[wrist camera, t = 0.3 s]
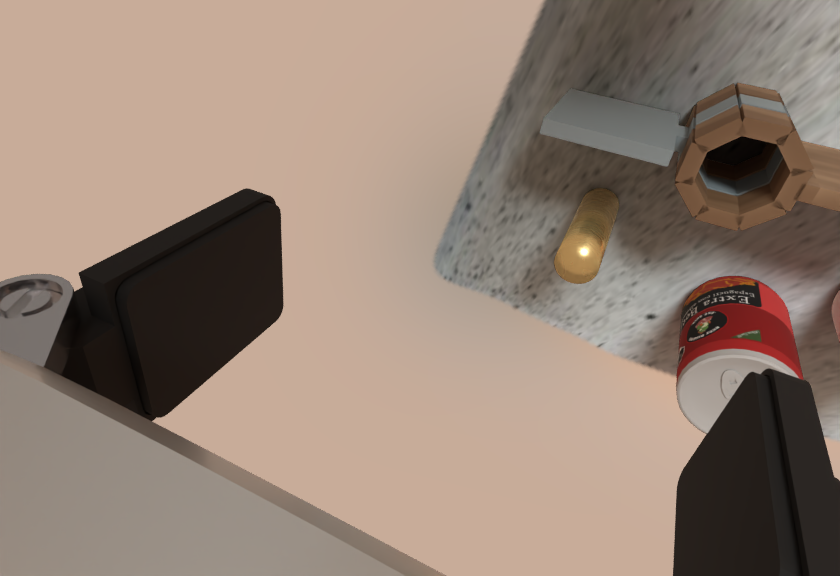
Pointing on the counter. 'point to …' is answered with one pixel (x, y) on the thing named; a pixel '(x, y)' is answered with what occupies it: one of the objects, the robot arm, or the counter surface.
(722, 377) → the canned food
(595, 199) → the hinge pin
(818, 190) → the hinge leaf fixed
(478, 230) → the counter surface
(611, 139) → the hinge leaf swing
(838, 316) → the milk bottle
